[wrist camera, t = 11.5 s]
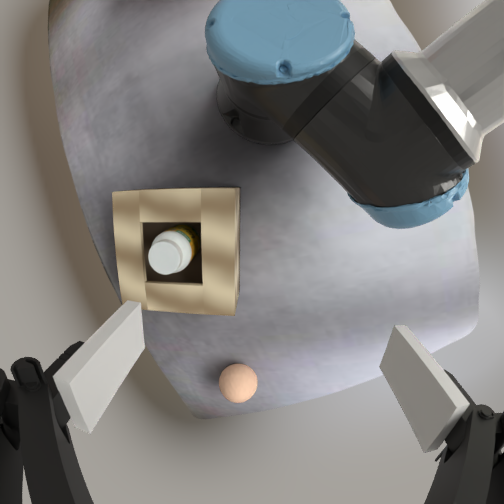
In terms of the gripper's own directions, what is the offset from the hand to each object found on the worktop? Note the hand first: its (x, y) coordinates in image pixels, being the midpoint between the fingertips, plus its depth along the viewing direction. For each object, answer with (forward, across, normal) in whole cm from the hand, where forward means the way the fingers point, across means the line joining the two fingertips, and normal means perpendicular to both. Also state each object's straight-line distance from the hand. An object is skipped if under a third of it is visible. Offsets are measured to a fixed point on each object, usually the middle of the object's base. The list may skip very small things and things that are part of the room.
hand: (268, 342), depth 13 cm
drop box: (+29, -12, -2) cm, 32 cm away
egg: (+29, -2, -26) cm, 39 cm away
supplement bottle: (+28, -12, -2) cm, 30 cm away
